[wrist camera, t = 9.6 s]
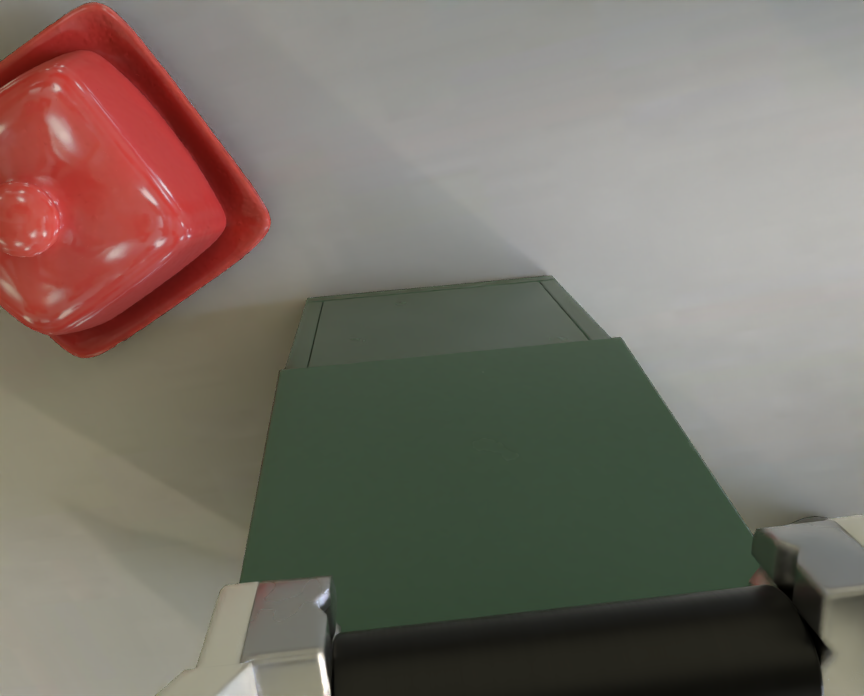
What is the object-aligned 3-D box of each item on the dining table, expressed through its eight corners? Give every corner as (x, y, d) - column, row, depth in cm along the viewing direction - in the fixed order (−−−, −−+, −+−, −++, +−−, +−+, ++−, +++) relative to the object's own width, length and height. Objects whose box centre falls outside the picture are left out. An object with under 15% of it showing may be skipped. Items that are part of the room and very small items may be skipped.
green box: (557, 568, 40) (612, 710, 31) (347, 591, 40) (339, 742, 31) (552, 275, 35) (616, 342, 26) (306, 297, 34) (282, 374, 25)
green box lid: (1010, 974, 10) (1172, 745, 8) (160, 1093, 10) (30, 890, 7) (620, 356, 25) (630, 211, 23) (282, 389, 25) (255, 244, 22)
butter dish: (111, -14, 29) (13, -52, 21) (288, 224, 33) (261, 267, 25) (-101, 152, 31) (-267, 174, 23) (91, 362, 34) (6, 444, 26)
